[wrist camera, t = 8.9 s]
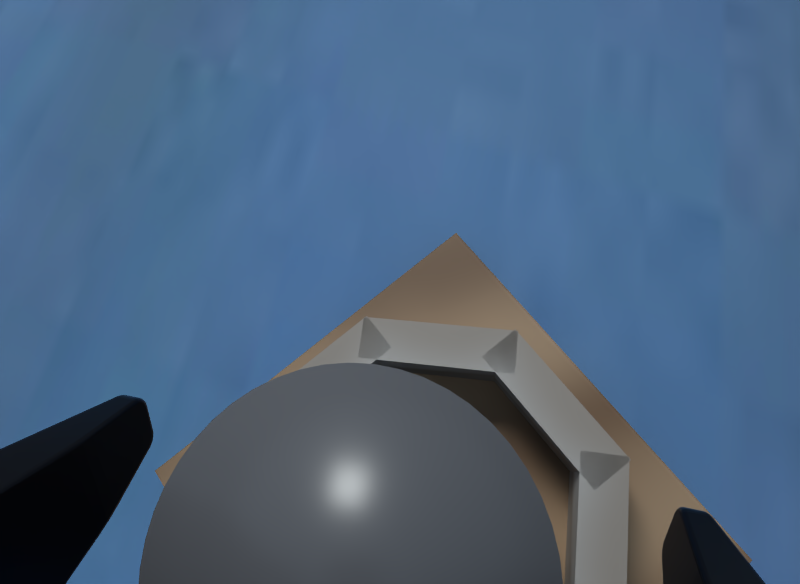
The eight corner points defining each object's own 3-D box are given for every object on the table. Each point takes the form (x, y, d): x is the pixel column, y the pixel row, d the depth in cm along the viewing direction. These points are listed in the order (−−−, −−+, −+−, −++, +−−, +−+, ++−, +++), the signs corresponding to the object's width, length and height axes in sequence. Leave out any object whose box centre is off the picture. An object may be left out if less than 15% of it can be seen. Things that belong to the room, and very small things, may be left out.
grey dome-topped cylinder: (551, 596, 16) (639, 794, 6) (352, 643, 16) (158, 897, 7) (491, 393, 18) (491, 312, 8) (313, 441, 18) (116, 416, 9)
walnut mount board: (737, 554, 16) (789, 574, 14) (392, 852, 16) (370, 938, 13) (457, 243, 20) (452, 207, 17) (171, 470, 20) (116, 472, 17)
